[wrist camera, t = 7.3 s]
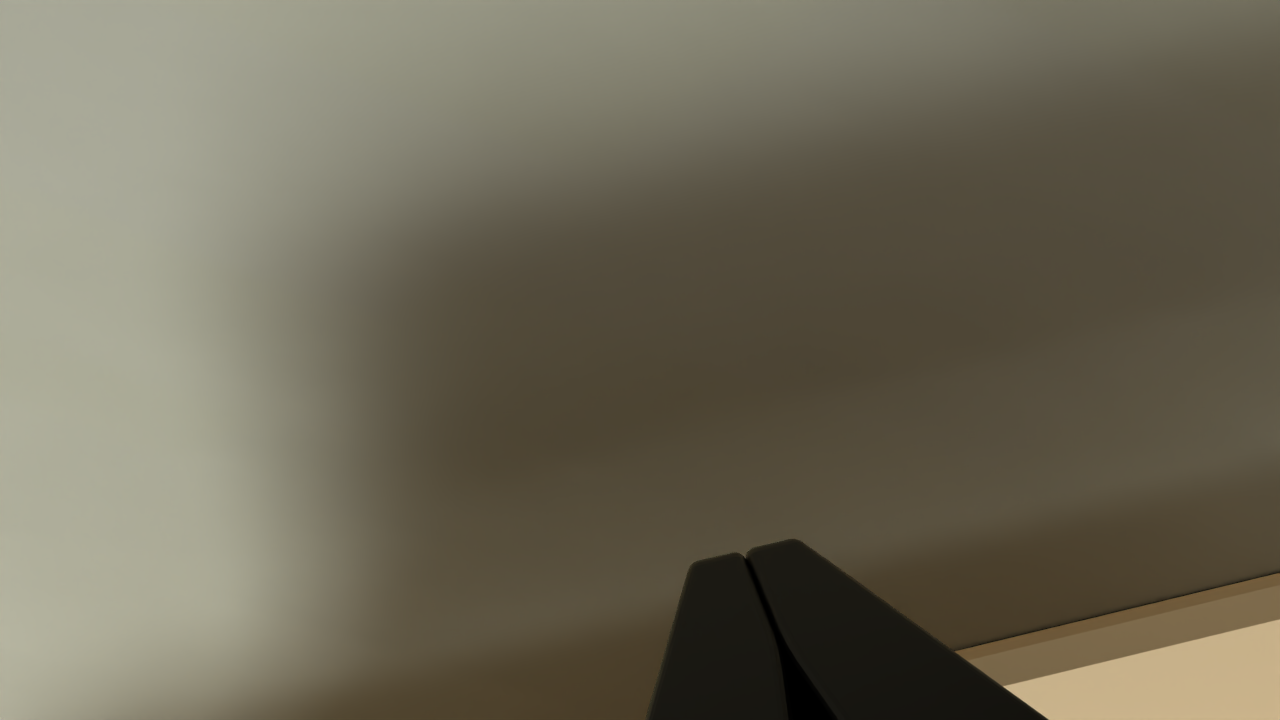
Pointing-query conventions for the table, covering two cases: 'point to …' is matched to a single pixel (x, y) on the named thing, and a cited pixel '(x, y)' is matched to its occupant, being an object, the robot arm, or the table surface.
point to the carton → (1120, 617)
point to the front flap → (1156, 666)
